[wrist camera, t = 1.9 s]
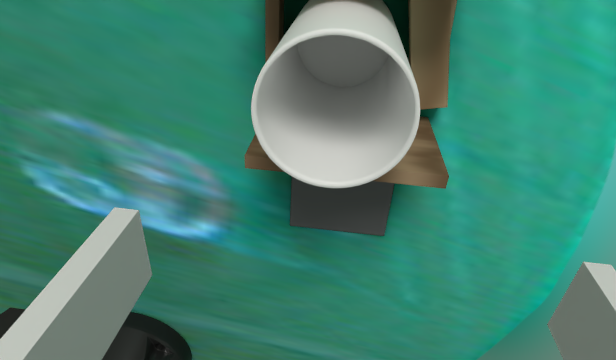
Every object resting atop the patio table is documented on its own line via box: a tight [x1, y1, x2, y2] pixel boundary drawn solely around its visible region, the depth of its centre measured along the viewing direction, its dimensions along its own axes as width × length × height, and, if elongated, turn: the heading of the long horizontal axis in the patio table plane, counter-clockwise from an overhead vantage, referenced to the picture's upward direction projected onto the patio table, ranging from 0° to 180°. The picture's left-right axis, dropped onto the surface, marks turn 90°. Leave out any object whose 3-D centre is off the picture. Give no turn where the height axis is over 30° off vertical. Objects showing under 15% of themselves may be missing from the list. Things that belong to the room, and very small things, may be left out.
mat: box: [290, 177, 395, 236], centre depth 40 cm, size 10×11×1 cm
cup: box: [251, 0, 420, 188], centre depth 26 cm, size 8×8×16 cm
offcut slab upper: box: [408, 0, 451, 109], centre depth 31 cm, size 3×9×2 cm, turn 8°
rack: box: [245, 0, 449, 188], centre depth 29 cm, size 14×14×10 cm
